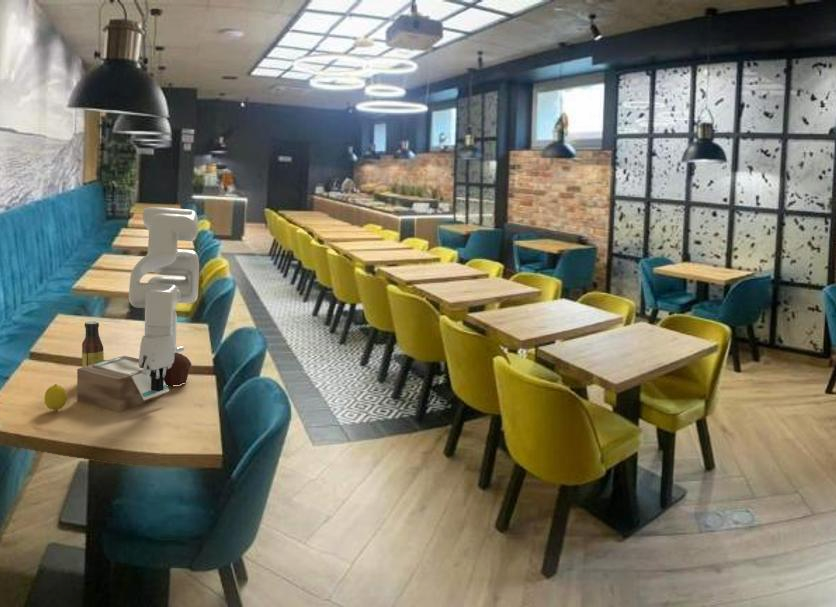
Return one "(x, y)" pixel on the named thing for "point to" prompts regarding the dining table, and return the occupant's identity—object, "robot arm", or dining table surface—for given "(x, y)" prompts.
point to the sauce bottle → (92, 345)
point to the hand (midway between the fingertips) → (157, 389)
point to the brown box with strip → (110, 384)
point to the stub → (147, 386)
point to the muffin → (178, 370)
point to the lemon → (55, 397)
